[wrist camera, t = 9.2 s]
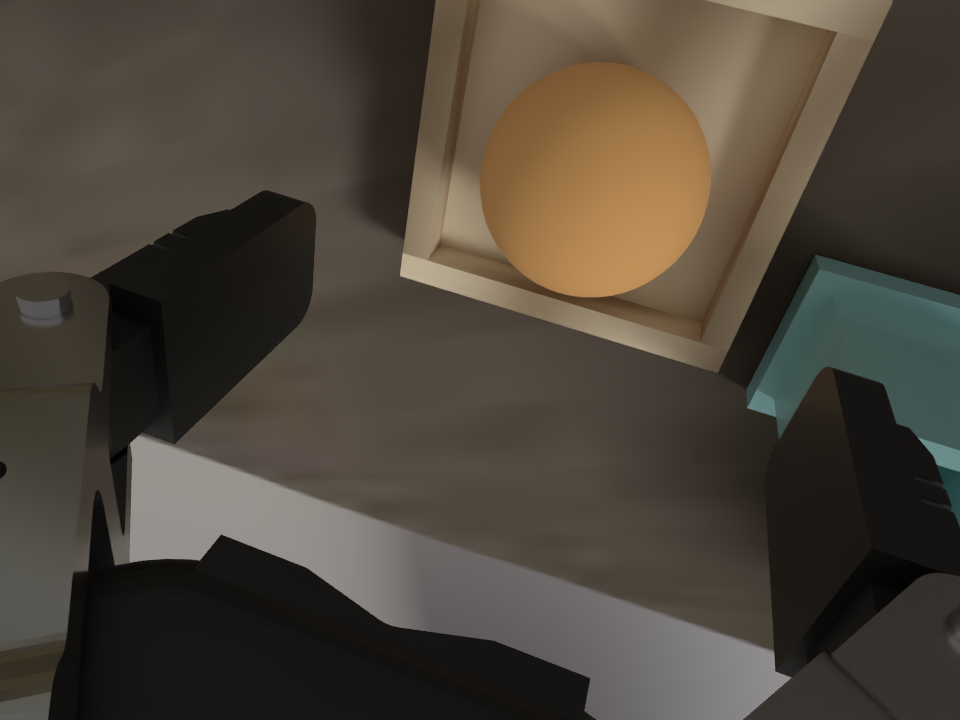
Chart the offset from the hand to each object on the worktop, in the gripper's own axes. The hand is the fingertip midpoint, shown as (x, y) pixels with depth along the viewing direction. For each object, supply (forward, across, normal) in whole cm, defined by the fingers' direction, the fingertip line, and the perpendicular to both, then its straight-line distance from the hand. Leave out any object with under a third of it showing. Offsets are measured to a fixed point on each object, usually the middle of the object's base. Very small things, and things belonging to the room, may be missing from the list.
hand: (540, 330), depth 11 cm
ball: (+8, 0, 0) cm, 8 cm away
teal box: (+11, -9, +4) cm, 15 cm away
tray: (+11, 0, 0) cm, 11 cm away
